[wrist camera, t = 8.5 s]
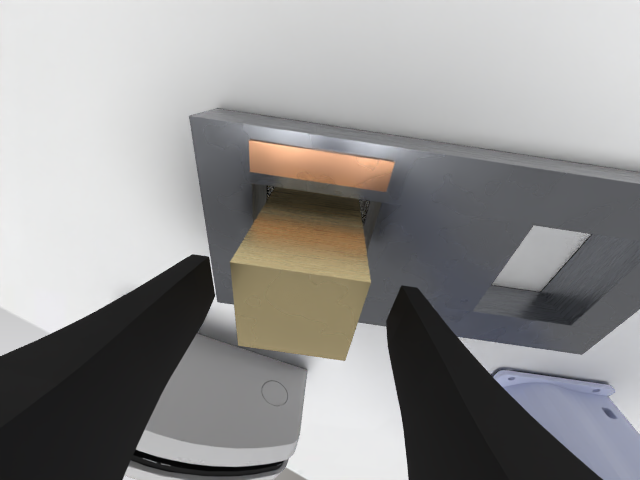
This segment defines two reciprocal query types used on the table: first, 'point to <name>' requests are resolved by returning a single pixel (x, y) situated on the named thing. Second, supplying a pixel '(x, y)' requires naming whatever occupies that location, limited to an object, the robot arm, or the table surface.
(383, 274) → the rail plate
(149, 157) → the table surface
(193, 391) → the grey rounded block
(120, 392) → the robot arm
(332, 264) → the brass peg
